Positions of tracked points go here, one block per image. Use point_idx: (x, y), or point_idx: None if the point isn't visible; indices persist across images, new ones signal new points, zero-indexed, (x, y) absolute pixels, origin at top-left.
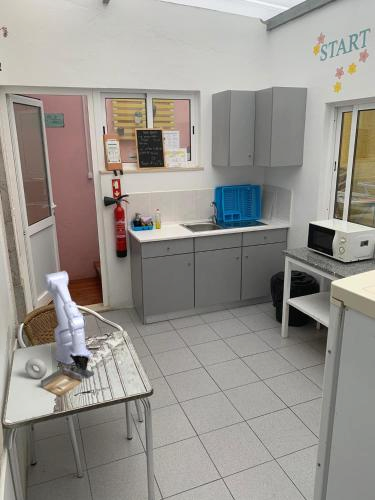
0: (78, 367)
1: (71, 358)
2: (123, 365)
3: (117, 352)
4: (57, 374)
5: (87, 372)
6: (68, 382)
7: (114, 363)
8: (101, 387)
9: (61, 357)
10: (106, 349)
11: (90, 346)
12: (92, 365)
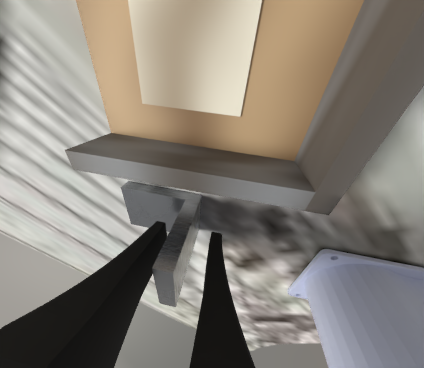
0: (175, 236)
1: (324, 291)
2: None
3: (181, 306)
4: (347, 99)
5: (159, 218)
6: (173, 81)
7: None
8: (6, 144)
9: (412, 296)
10: None
11: (290, 326)
12: (198, 259)
